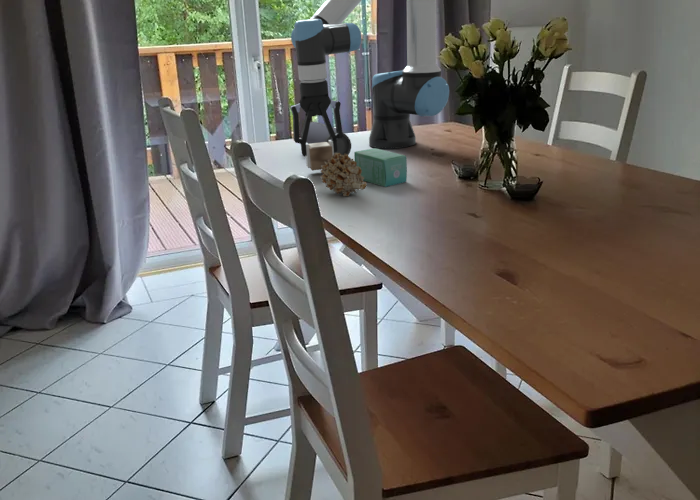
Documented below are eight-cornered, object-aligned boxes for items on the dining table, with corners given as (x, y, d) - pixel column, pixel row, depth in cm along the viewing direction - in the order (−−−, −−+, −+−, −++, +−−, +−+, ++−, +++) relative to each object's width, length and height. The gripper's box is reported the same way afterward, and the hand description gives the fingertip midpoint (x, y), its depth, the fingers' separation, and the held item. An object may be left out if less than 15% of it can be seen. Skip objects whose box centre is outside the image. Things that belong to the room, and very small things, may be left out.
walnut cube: (329, 163, 197) (327, 141, 195) (333, 167, 192) (331, 145, 190) (308, 165, 196) (306, 143, 194) (312, 170, 191) (310, 148, 189)
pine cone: (312, 190, 177) (309, 152, 174) (346, 184, 182) (344, 146, 178) (353, 210, 159) (350, 168, 156) (389, 203, 163) (388, 161, 160)
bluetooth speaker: (354, 162, 206) (352, 128, 202) (324, 166, 202) (322, 132, 199) (328, 149, 226) (325, 118, 222) (300, 153, 222) (298, 121, 219)
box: (385, 187, 177) (384, 158, 174) (354, 179, 187) (353, 151, 185) (408, 182, 181) (407, 154, 178) (376, 174, 191) (375, 147, 189)
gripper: (344, 75, 191) (350, 158, 199) (275, 82, 187) (284, 166, 196) (351, 78, 184) (357, 164, 192) (279, 85, 181) (288, 172, 189)
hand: (320, 165), depth 194 cm, fingers closed on walnut cube, 6 cm apart
